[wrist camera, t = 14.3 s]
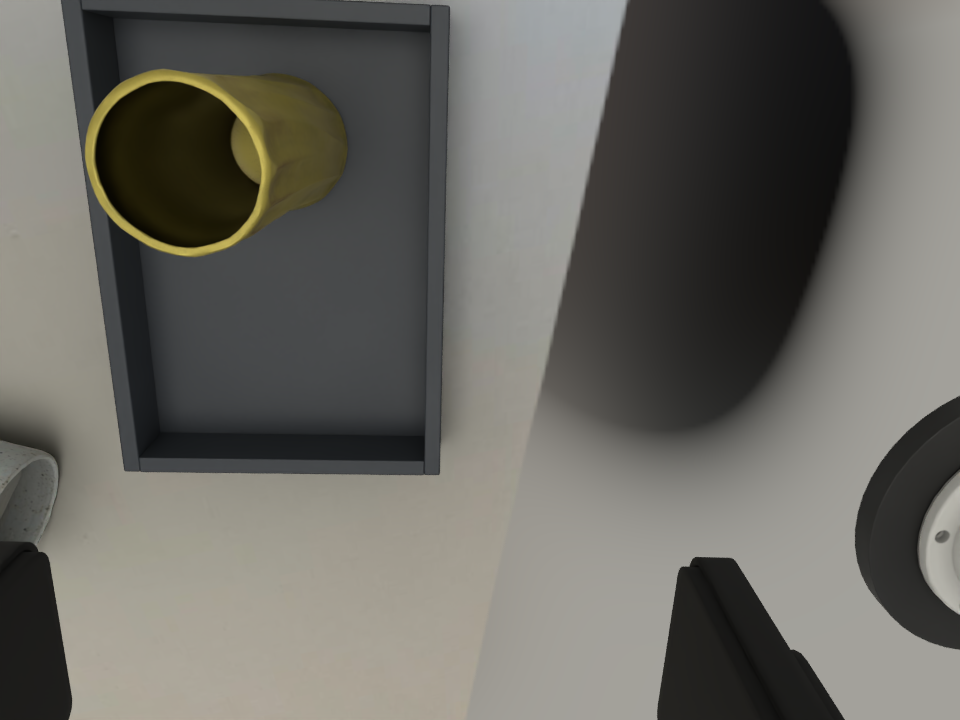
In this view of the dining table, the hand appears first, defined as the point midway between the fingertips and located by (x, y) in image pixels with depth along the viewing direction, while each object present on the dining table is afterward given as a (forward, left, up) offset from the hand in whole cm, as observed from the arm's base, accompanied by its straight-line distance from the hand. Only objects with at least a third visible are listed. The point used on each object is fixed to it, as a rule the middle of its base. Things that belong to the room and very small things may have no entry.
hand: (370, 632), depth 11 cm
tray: (+7, -1, -28) cm, 29 cm away
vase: (+7, -6, -27) cm, 29 cm away
